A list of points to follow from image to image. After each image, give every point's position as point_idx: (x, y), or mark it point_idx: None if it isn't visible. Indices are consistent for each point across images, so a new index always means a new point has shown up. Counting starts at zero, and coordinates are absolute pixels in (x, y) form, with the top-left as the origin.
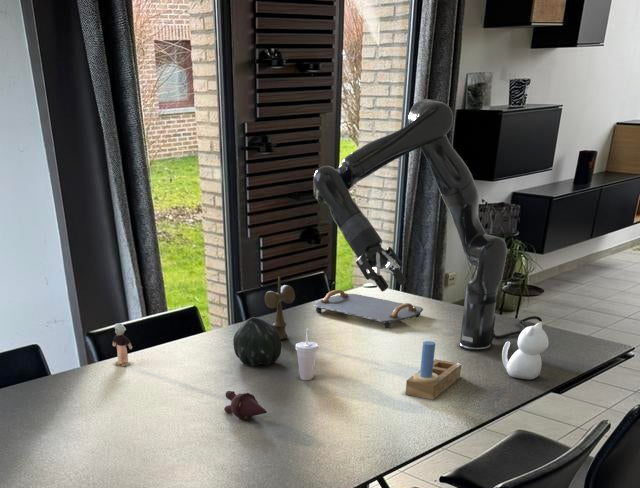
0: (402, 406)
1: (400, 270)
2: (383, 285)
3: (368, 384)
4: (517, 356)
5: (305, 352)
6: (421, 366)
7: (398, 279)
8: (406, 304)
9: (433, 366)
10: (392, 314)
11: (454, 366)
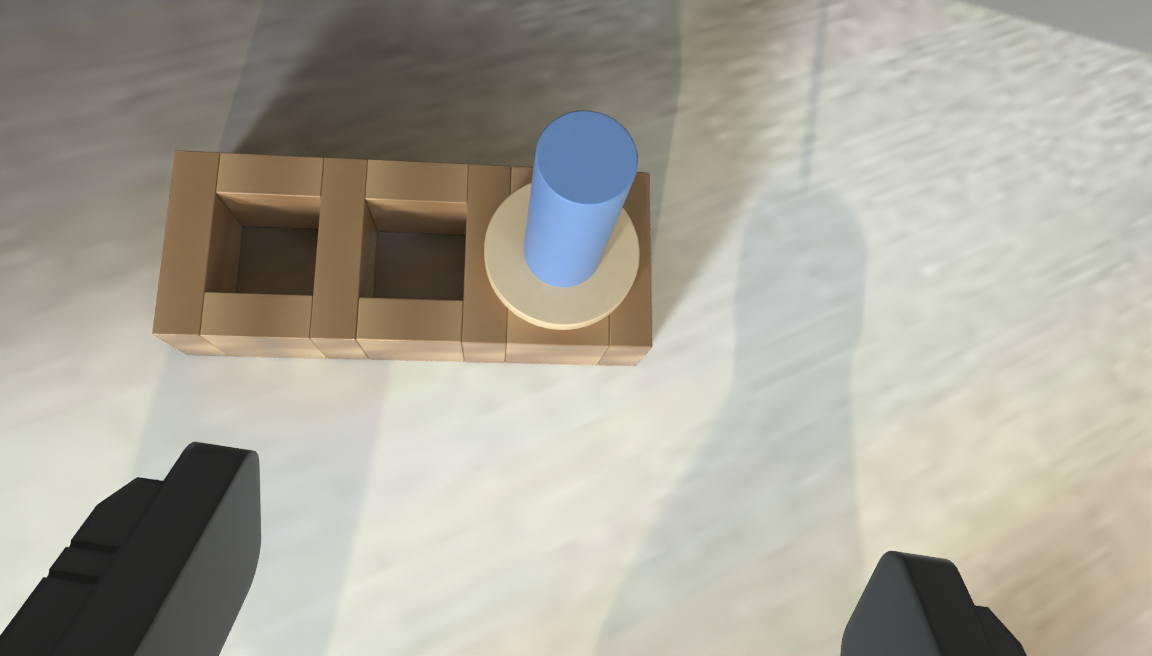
0: (804, 311)
1: (50, 653)
2: (1005, 631)
3: (596, 642)
4: None
5: None
6: (600, 253)
7: (208, 635)
8: None
9: (304, 295)
10: None
11: (253, 172)
